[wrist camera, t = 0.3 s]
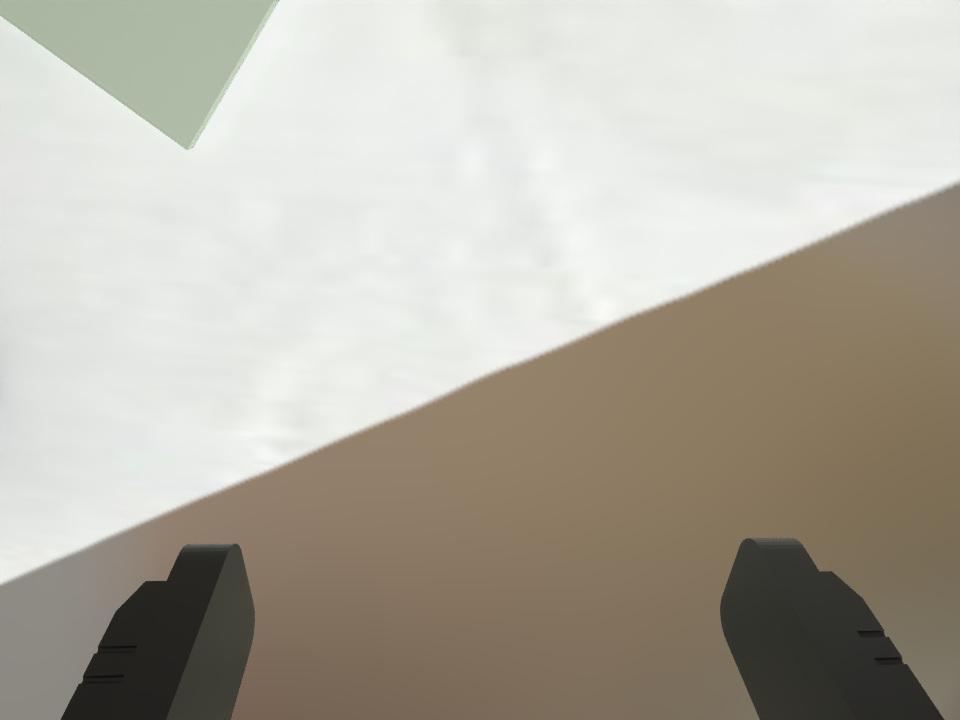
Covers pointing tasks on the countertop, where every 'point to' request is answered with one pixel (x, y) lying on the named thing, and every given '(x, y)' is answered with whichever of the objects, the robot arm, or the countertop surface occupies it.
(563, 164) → the countertop surface
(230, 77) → the sage mat
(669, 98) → the countertop surface
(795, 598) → the robot arm
